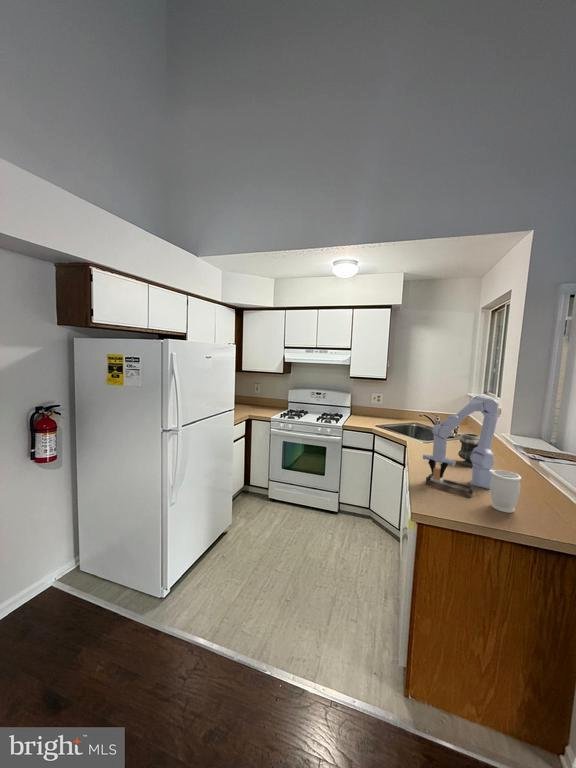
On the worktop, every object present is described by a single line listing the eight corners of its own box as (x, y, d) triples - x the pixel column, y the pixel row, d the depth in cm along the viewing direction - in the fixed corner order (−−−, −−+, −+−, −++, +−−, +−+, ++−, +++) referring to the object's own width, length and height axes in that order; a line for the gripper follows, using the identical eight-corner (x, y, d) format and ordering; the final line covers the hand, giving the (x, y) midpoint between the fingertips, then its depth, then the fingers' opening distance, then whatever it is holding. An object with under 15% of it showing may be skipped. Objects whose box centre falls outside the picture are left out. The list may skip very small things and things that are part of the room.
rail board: (475, 491, 149) (475, 484, 149) (471, 498, 143) (471, 490, 142) (430, 479, 162) (431, 473, 162) (425, 485, 155) (425, 478, 155)
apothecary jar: (481, 463, 189) (483, 434, 187) (480, 469, 178) (483, 438, 177) (458, 459, 195) (460, 431, 193) (456, 465, 185) (459, 435, 183)
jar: (518, 517, 127) (522, 481, 125) (488, 509, 132) (491, 475, 130) (516, 506, 136) (520, 472, 134) (488, 500, 141) (491, 467, 139)
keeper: (443, 481, 156) (444, 468, 156) (441, 484, 152) (442, 471, 152) (433, 478, 159) (434, 466, 159) (430, 481, 156) (431, 468, 155)
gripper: (421, 447, 156) (419, 474, 157) (453, 454, 147) (451, 482, 148) (425, 444, 161) (424, 470, 163) (457, 451, 152) (455, 478, 153)
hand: (437, 476), depth 156 cm, fingers closed on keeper, 3 cm apart
